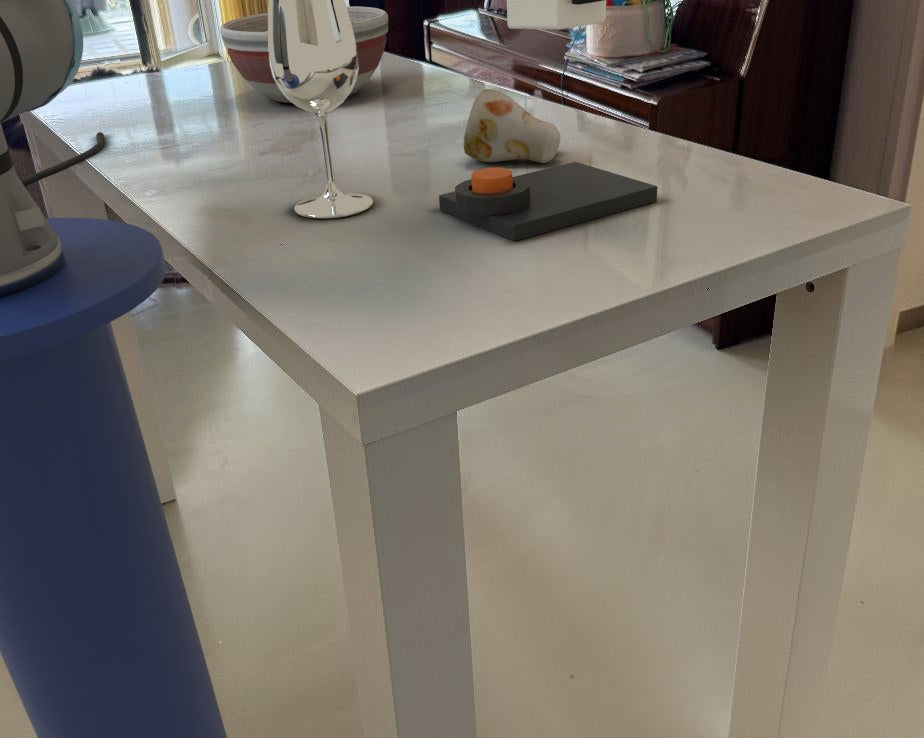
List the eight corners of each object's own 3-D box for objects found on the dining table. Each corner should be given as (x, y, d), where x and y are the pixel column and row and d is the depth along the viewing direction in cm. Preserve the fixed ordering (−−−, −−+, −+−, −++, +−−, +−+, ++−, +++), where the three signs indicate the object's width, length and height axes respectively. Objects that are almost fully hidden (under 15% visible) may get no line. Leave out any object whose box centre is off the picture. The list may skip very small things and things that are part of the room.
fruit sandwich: (560, 173, 99) (507, 86, 94) (486, 207, 105) (434, 127, 100) (581, 137, 103) (532, 52, 98) (509, 171, 110) (460, 93, 105)
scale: (428, 213, 90) (425, 180, 89) (575, 175, 97) (575, 144, 96) (502, 245, 82) (500, 209, 80) (657, 201, 89) (658, 167, 87)
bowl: (200, 105, 138) (185, 27, 132) (319, 75, 152) (310, 3, 146) (308, 122, 125) (296, 36, 119) (428, 87, 139) (422, 9, 133)
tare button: (464, 190, 86) (463, 173, 85) (497, 182, 88) (496, 165, 87) (487, 199, 84) (486, 181, 83) (520, 190, 85) (520, 172, 84)
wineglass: (368, 191, 97) (342, -38, 86) (379, 213, 91) (353, -31, 80) (290, 200, 96) (253, -30, 85) (296, 224, 90) (257, -22, 79)
